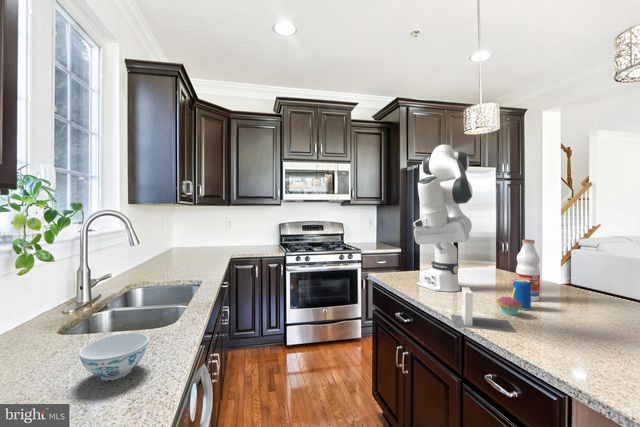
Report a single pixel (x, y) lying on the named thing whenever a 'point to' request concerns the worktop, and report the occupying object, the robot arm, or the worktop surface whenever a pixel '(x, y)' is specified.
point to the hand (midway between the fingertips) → (444, 253)
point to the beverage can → (523, 292)
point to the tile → (467, 305)
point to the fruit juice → (529, 267)
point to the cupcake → (509, 304)
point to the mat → (484, 324)
